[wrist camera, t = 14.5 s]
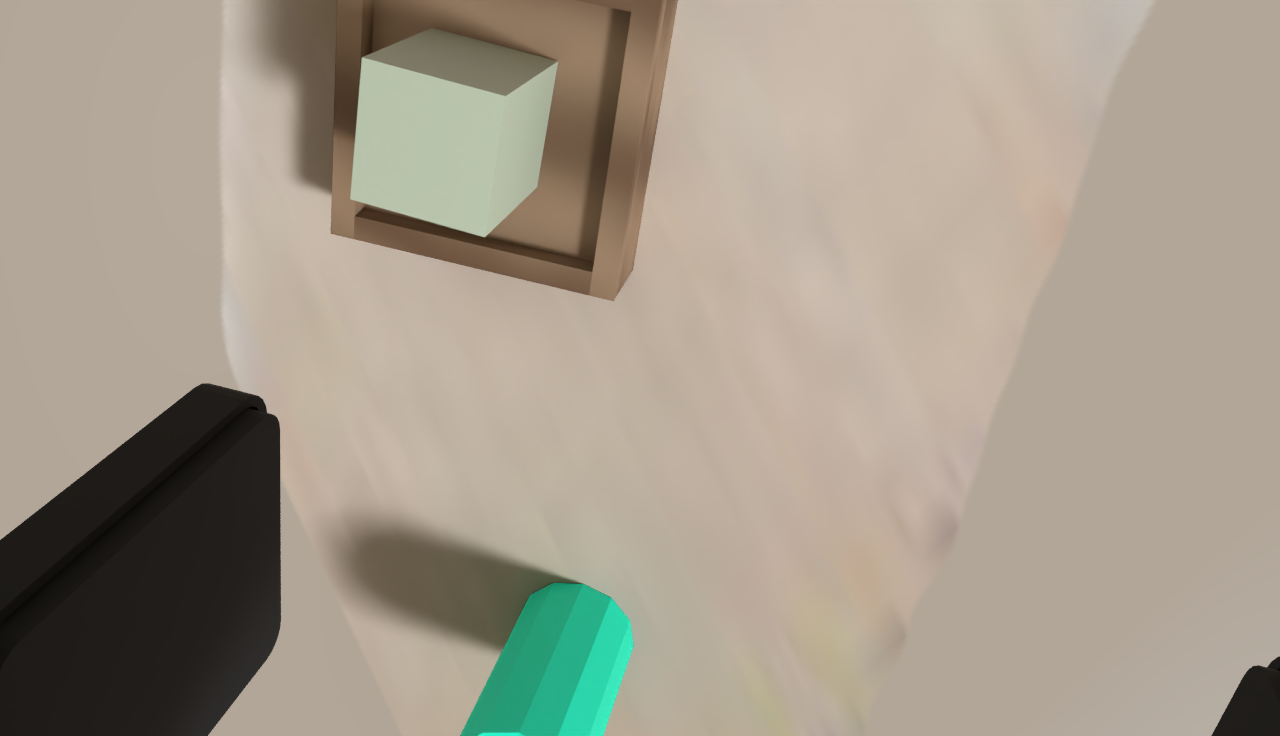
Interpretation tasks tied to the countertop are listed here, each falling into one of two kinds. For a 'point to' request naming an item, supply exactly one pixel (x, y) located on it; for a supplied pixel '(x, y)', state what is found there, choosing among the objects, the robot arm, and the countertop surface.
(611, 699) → the candle
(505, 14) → the base block
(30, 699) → the robot arm
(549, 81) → the sage block
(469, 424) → the countertop surface
